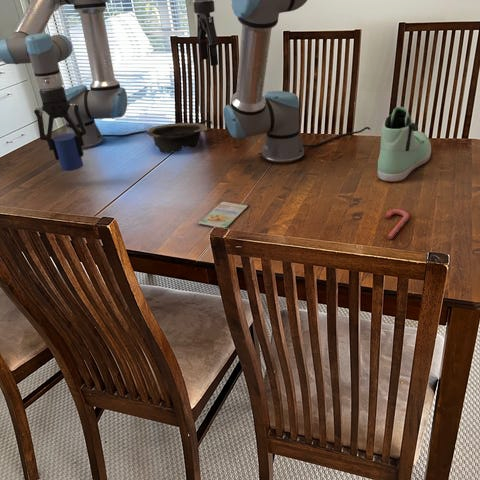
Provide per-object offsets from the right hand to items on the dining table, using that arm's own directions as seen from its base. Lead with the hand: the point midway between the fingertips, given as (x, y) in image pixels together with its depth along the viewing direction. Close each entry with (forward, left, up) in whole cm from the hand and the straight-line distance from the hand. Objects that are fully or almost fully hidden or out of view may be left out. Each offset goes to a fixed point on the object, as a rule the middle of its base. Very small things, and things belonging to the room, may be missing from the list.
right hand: (209, 62), depth 184 cm
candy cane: (-22, +93, -30) cm, 100 cm away
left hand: (+58, +22, -20) cm, 65 cm away
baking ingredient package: (+18, +66, -30) cm, 75 cm away
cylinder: (+58, +22, -23) cm, 66 cm away
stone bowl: (+17, +1, -30) cm, 34 cm away
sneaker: (-49, +58, -30) cm, 82 cm away
